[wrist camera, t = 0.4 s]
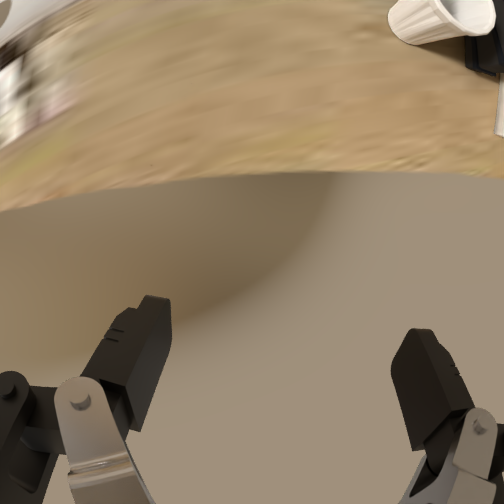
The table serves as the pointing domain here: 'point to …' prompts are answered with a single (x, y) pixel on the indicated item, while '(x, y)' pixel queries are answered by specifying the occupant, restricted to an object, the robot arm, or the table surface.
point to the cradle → (500, 109)
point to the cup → (440, 19)
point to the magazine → (488, 46)
